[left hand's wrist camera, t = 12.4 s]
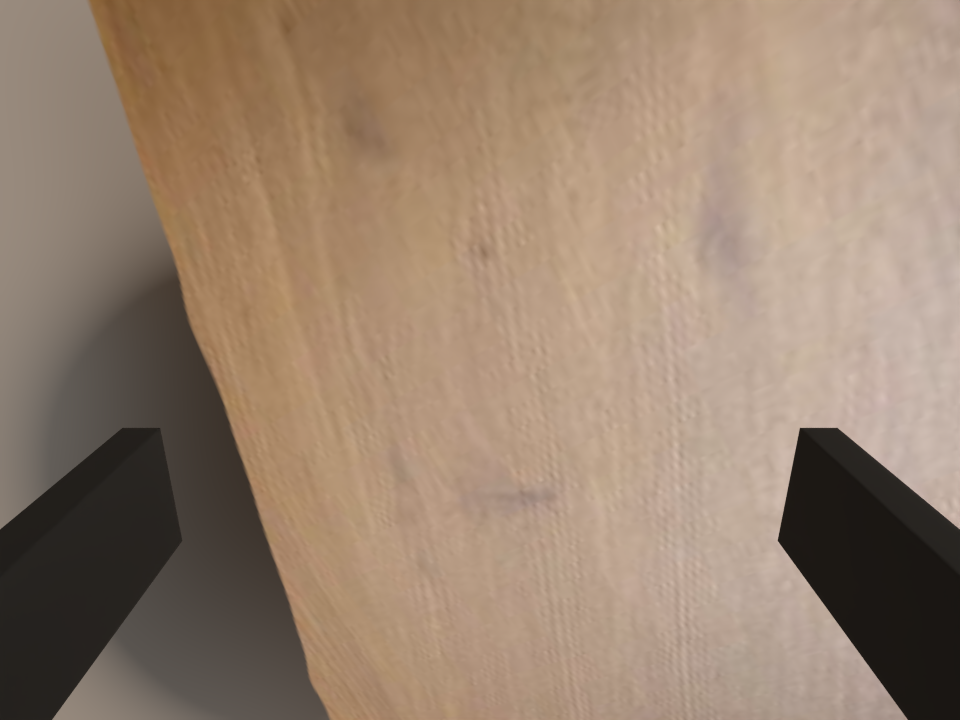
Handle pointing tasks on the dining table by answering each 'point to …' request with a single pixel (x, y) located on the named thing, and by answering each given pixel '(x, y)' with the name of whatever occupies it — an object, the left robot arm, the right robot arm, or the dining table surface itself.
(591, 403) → the dining table surface
